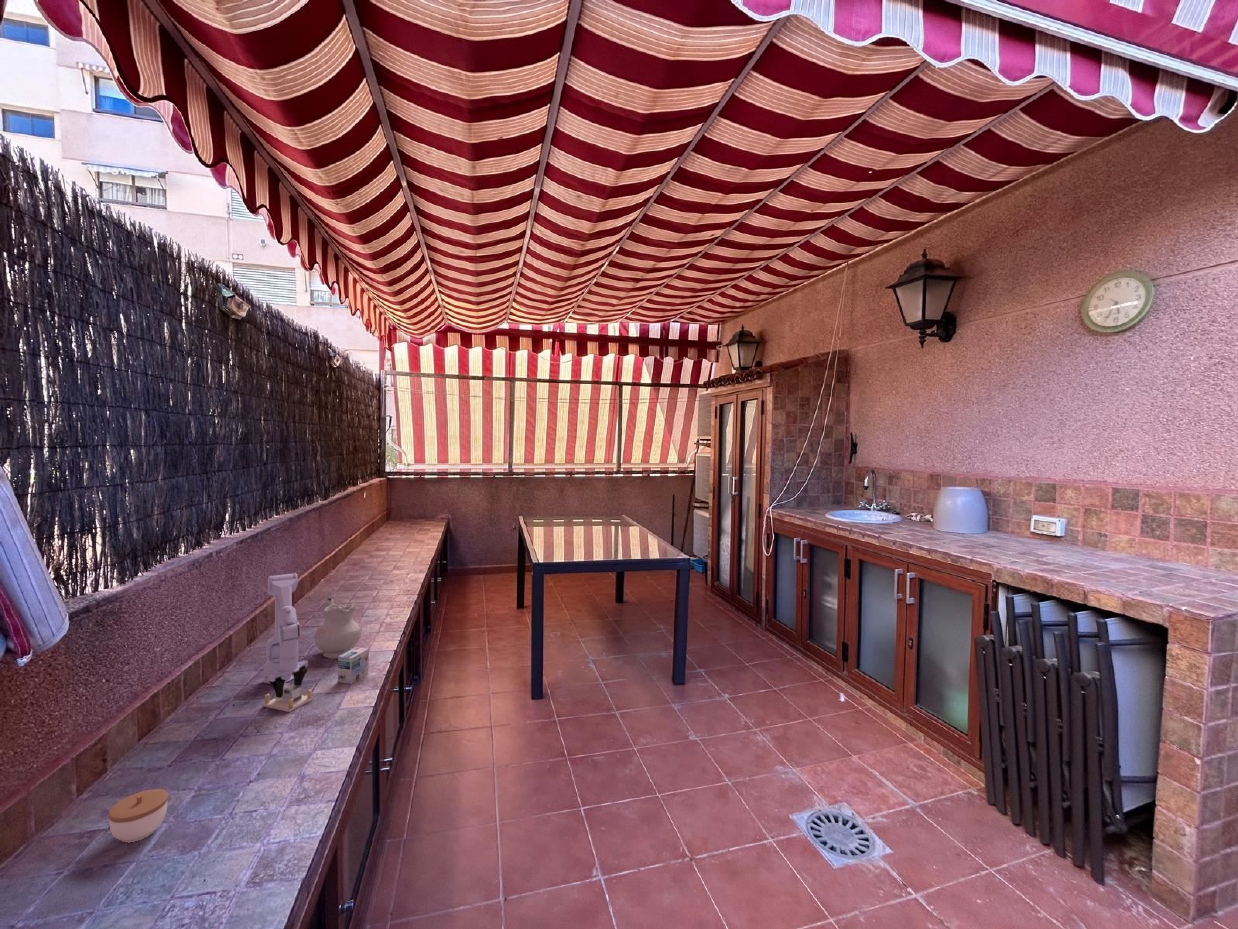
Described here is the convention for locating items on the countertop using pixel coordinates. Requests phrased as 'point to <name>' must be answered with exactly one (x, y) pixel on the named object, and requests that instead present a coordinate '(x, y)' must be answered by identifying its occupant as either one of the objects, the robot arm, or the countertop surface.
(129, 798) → the lidded jar
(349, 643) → the beige vase
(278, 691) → the robot arm
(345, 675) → the light bulb box
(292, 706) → the wooden peg board
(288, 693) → the mauve rectangular box
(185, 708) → the countertop surface
